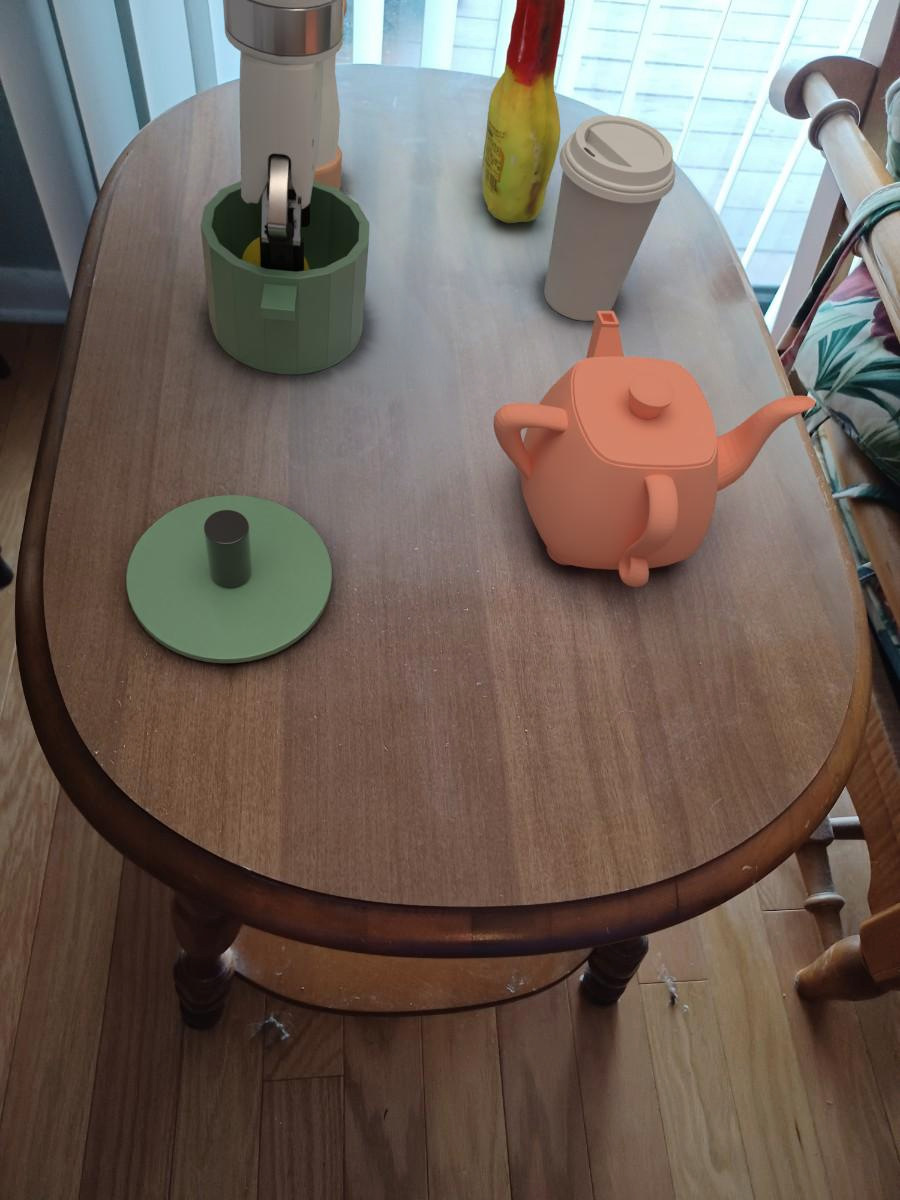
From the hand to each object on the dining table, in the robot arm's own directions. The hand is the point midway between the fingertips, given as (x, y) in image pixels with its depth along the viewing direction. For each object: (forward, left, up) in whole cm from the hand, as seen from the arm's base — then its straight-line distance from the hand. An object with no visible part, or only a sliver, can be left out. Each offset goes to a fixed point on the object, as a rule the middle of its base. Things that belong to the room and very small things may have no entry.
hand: (286, 250), depth 75 cm
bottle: (+20, +21, -7) cm, 30 cm away
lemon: (0, 0, -7) cm, 7 cm away
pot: (0, 0, -7) cm, 7 cm away
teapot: (+26, -18, -7) cm, 32 cm away
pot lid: (-2, -27, -7) cm, 28 cm away
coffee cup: (+26, +7, -7) cm, 28 cm away
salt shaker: (0, +20, -7) cm, 21 cm away
